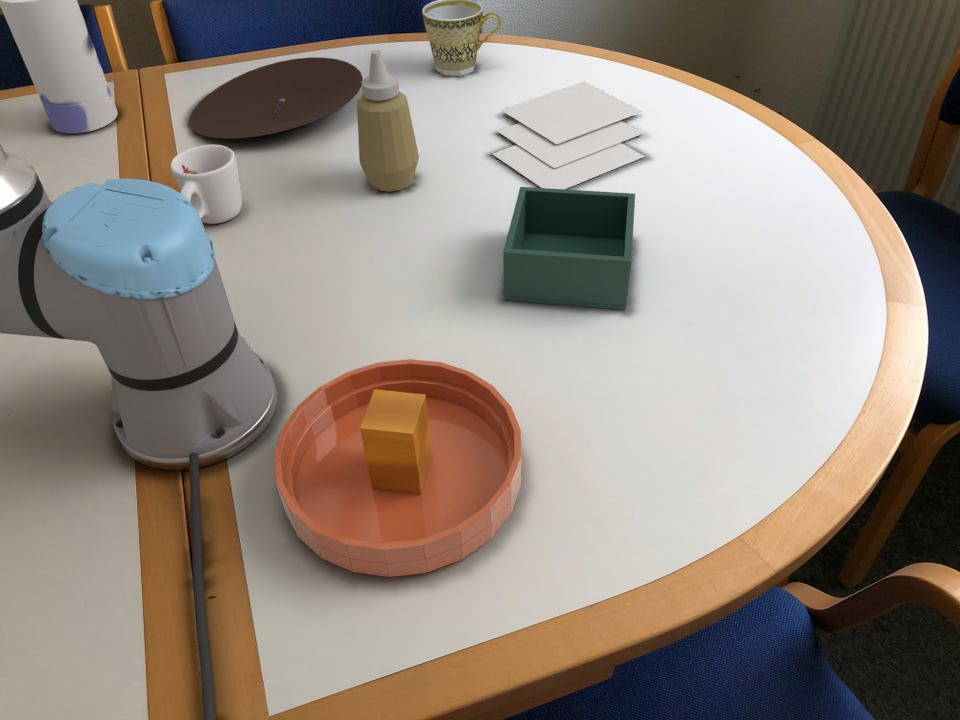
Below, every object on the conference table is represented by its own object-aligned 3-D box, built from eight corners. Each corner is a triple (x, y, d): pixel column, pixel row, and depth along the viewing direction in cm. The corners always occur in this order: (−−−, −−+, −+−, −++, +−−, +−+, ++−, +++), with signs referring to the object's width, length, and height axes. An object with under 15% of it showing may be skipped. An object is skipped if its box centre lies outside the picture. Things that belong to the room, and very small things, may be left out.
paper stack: (687, 139, 115) (688, 134, 115) (551, 194, 105) (551, 190, 105) (583, 85, 129) (584, 81, 129) (455, 129, 120) (455, 125, 119)
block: (421, 495, 69) (413, 433, 64) (371, 488, 70) (359, 427, 64) (432, 455, 72) (425, 394, 67) (385, 450, 73) (374, 389, 68)
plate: (217, 73, 138) (212, 52, 136) (376, 71, 137) (374, 50, 134) (164, 152, 118) (157, 129, 115) (351, 150, 116) (347, 127, 114)
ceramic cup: (421, 79, 134) (416, 19, 127) (433, 56, 141) (429, -3, 134) (497, 82, 132) (496, 21, 125) (505, 58, 139) (505, -1, 132)
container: (131, 114, 128) (85, -17, 114) (79, 140, 122) (23, 5, 108) (91, 101, 132) (42, -27, 118) (39, 125, 126) (-20, -6, 112)
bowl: (502, 596, 62) (502, 565, 59) (247, 561, 66) (233, 529, 62) (535, 404, 78) (536, 370, 74) (326, 382, 81) (318, 350, 78)
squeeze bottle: (395, 161, 114) (380, 34, 101) (433, 180, 109) (422, 50, 97) (351, 182, 110) (329, 53, 97) (388, 204, 105) (370, 71, 93)
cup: (224, 245, 99) (207, 189, 94) (166, 240, 101) (146, 184, 95) (258, 200, 107) (244, 145, 102) (204, 195, 108) (187, 141, 103)
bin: (625, 310, 88) (631, 261, 83) (503, 300, 90) (503, 252, 85) (630, 240, 97) (635, 193, 93) (520, 232, 99) (520, 186, 95)
